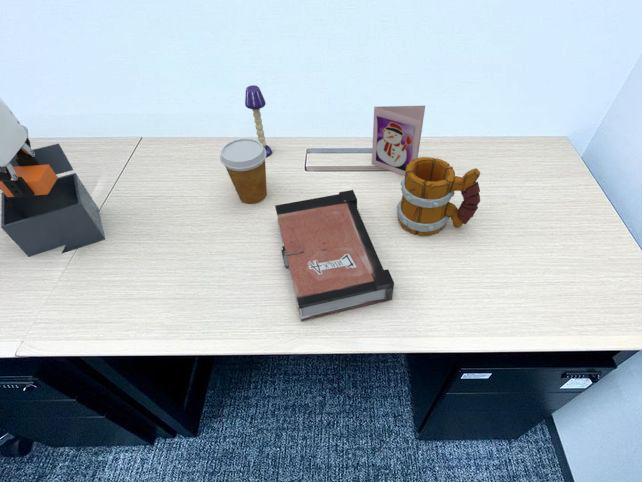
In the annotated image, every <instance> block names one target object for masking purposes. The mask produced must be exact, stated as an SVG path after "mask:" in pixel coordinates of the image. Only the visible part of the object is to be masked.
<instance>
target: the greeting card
mask: <svg viewBox="0 0 642 482" xmlns="http://www.w3.org/2000/svg"><path fill="white" fill-rule="evenodd" d="M425 110H426V105H392V106H391V105H388V106H386V105H385V106H382V105H381V106H374V107H373V125H372V126H373V127H372V149H371V150H372V151H371V165H373V166H376V167H379V168H382V169H384V170H387V171H390V172H392V173H395V174H398V175H401V176H403V177H405V170H406V166H407V164H408V163H409V162H410V161H413V160H414V159H416V158H419V153H420V146H421V137H422V131H423V125H424V119H425V112H426V111H425Z"/></svg>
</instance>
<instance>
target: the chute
mask: <svg viewBox="0 0 642 482" xmlns="http://www.w3.org/2000/svg"><path fill="white" fill-rule="evenodd" d="M57 177H58V179H57V180H56V182H55V184H54V185H53V187H52V189H51V190H50V192H49V193H48V194H47V195H34V196H33V197H23V198H16V197H7V196H6V195H5V194H4V193H3V191H1V193H0V195H1V202H0V203H1V205H0V207H1V208H0V210H1V211H0V216H1V217H0V228H1V229H2V230H3V231H4V232H5V234H7V235H8V236H9V237H10V239H11V240H12V241H13V242H14V243H15V244H16V246H17V247H19V248H20V249H21V251H22V252H23V253H24V254H25V255H26V256H27V257H28V258H29V257H33V256H36V255H39V254H42V253H45V252H49V251H51V250H54V249H55V250H56V249H58V248H61V247H63V249H62V251H61V254H62V255H63V254H65V253H67V252H71V251H73V250H77V249H80V248H83V247H86V246H89V245H93V244H96V243H99V242H101V241H104V240H106V237H105V236H106V235H105V232H104V228H103V222H102V219H101V214H100V209H99V207H98V205H97V204H96V202H95V201H94V199H93V197H91V194H90V193H89V191H88V190H87V188H86V186H85V185H84V183H83V182H82V180H81V179H80V177H79V176H78V174H77V173H76V172H74V173H70V174H66V175H62V176H57Z"/></svg>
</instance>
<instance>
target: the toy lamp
mask: <svg viewBox="0 0 642 482" xmlns="http://www.w3.org/2000/svg"><path fill="white" fill-rule="evenodd" d="M266 104H267V103H266V100H265V97H264V96H263V93H262V91H261V88H260V86H258V85H253V84H252V85H248V86H247V87H245V97H244V106H245V107H246V108H247V109H250V110H251V111H252V116H253V118H254V119H253V120H254V121H253V122H254V124H255V125H254V126H255V130H256V136H257V141H259V142H260V143H261V144H262V145H263V147H264V148H265V150H266V153H267V155H266V158H267V157H270V156H271V155H272V154H273V150H272V148H271V146H269V145H267V142H266V137H265V130H264V125H263V119H262V113H261V109H263V108H264V107H265V106H266Z"/></svg>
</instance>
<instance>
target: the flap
mask: <svg viewBox="0 0 642 482" xmlns="http://www.w3.org/2000/svg"><path fill="white" fill-rule="evenodd" d="M32 150H33V151H34V153H35V156H34V157H35V158H36V159H37V161H38V162H39V163H40V165H50V167H51V168H52V170H53V171H54V173H55V174H56V175H57V176H58V175H61V174H64V173H67V172H72V171H74V168H73V166H72V164H71V162H70V161H69V159H68V157H67V155H66V153H65V152H64V150H63V148H62V147H61V145H60V143H54V144H50V145H45V146H42V147H38V148H34V149H32ZM16 158H17V157H16V156H14V157H13V158H12V160H11V161H10V163H11V165H12V167H16V166H19V164H18V163H17V162H16ZM0 171H1V172H5V171H6V170H5V168H4V167H0ZM0 190H1V189H0ZM1 191H2V190H1Z"/></svg>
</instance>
